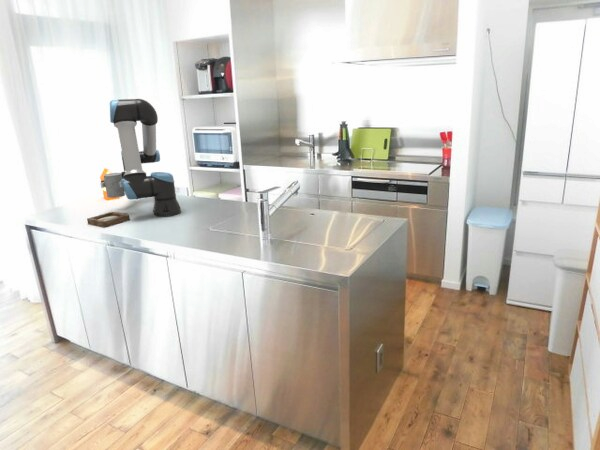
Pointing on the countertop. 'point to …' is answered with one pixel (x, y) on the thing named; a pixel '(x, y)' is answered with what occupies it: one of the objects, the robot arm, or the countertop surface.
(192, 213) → the countertop surface
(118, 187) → the speckled white cylinder
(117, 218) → the walnut seat tray
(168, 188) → the robot arm
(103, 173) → the orange juice
